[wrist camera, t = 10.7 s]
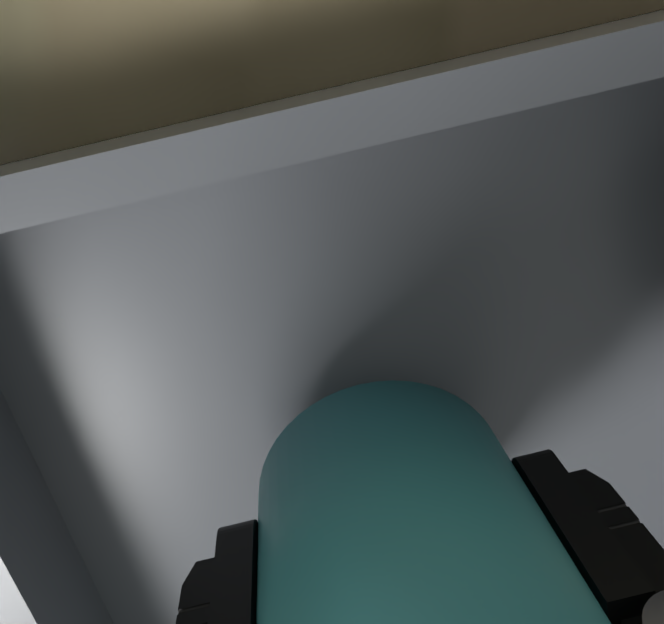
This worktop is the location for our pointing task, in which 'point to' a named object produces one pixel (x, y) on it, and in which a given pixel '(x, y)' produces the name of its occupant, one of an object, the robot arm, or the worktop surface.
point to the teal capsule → (405, 520)
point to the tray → (324, 300)
